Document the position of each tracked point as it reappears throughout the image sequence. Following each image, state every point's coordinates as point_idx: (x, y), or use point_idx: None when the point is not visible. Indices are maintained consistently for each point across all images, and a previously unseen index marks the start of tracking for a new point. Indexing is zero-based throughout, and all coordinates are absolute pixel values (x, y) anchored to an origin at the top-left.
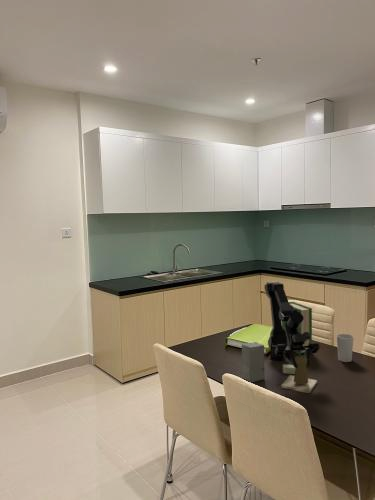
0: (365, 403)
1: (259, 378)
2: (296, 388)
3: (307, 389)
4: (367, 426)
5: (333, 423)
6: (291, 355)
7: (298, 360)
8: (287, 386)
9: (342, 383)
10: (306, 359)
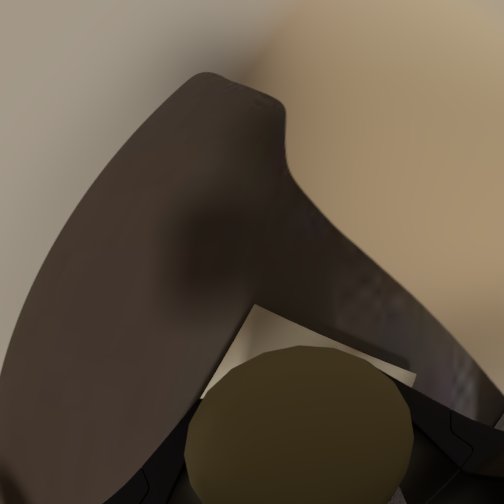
0: (74, 225)
1: (500, 426)
2: (331, 339)
3: (263, 325)
4: (153, 117)
5: (232, 111)
6: (484, 450)
7: (367, 361)
8: (383, 361)
9: (62, 410)
10: (202, 402)
